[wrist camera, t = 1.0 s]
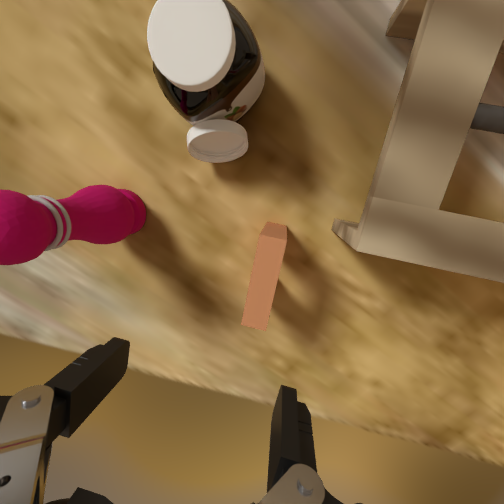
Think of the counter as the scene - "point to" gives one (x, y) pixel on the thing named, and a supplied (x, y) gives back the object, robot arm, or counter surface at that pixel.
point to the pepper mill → (65, 220)
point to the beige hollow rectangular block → (435, 141)
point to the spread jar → (207, 72)
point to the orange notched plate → (264, 275)
